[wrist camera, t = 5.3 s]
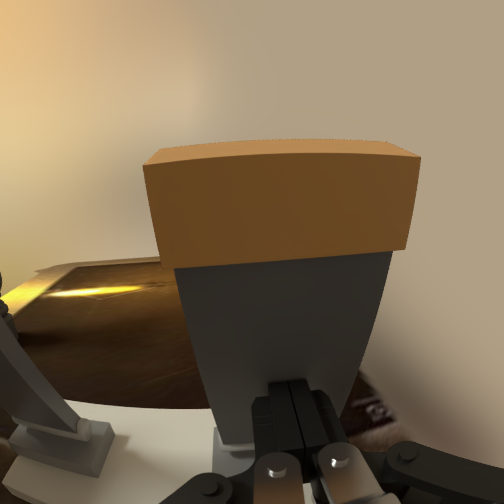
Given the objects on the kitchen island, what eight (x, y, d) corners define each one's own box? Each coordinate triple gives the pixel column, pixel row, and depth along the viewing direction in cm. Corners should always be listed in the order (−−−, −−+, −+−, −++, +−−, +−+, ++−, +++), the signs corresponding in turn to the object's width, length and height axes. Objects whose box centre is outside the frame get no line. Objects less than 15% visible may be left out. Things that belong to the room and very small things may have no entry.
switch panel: (357, 523, 10) (368, 504, 9) (10, 493, 9) (-12, 469, 8) (316, 411, 21) (318, 385, 20) (59, 410, 20) (48, 386, 19)
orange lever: (333, 443, 14) (421, 157, 6) (222, 456, 14) (142, 165, 6) (327, 419, 16) (387, 142, 8) (221, 431, 15) (160, 148, 7)
